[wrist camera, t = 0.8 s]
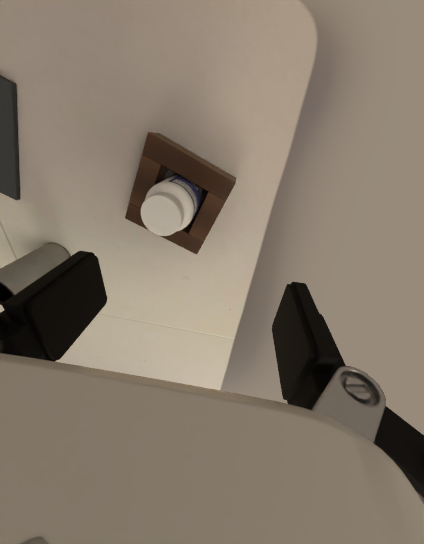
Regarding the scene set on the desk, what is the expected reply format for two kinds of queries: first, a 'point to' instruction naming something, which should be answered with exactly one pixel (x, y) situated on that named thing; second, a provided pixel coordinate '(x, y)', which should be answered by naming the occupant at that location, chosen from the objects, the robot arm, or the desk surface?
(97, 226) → the desk surface
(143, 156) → the holder
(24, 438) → the robot arm
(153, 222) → the pill bottle
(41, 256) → the grey hollow tube
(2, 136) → the mat
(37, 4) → the desk surface
